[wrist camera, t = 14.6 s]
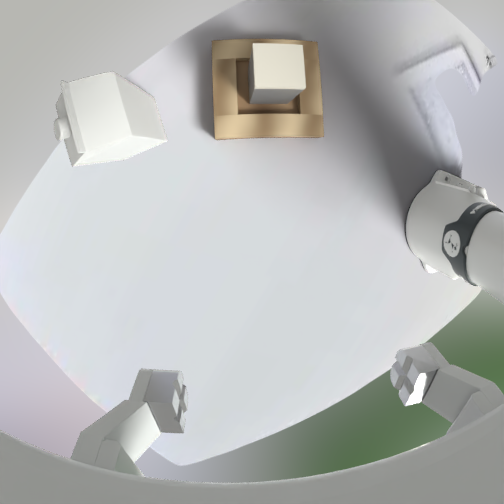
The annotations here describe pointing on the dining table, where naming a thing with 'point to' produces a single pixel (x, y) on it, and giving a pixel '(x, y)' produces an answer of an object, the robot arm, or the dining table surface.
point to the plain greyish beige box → (275, 73)
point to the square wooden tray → (262, 115)
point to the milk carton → (106, 119)
